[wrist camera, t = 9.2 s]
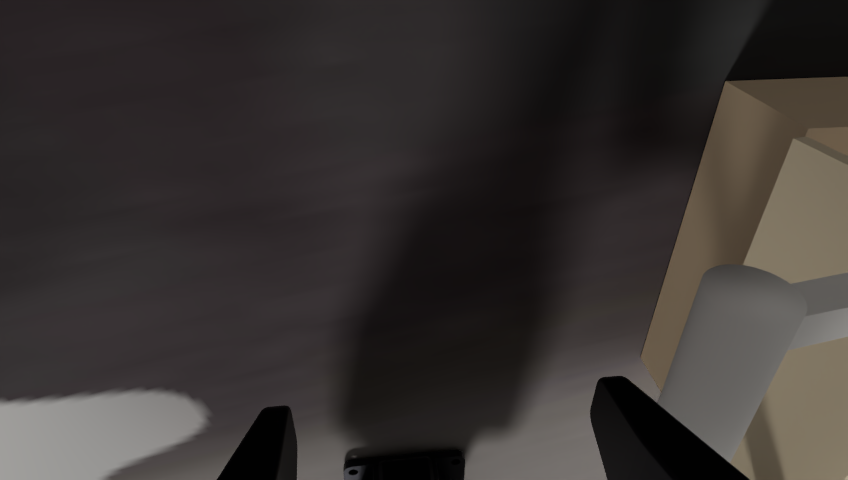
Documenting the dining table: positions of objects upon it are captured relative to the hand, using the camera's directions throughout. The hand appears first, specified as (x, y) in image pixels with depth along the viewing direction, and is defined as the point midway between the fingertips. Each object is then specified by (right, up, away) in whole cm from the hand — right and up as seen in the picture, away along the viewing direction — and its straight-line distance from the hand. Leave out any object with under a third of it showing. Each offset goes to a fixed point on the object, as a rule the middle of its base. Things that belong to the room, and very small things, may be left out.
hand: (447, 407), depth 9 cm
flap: (+12, -1, +9) cm, 15 cm away
